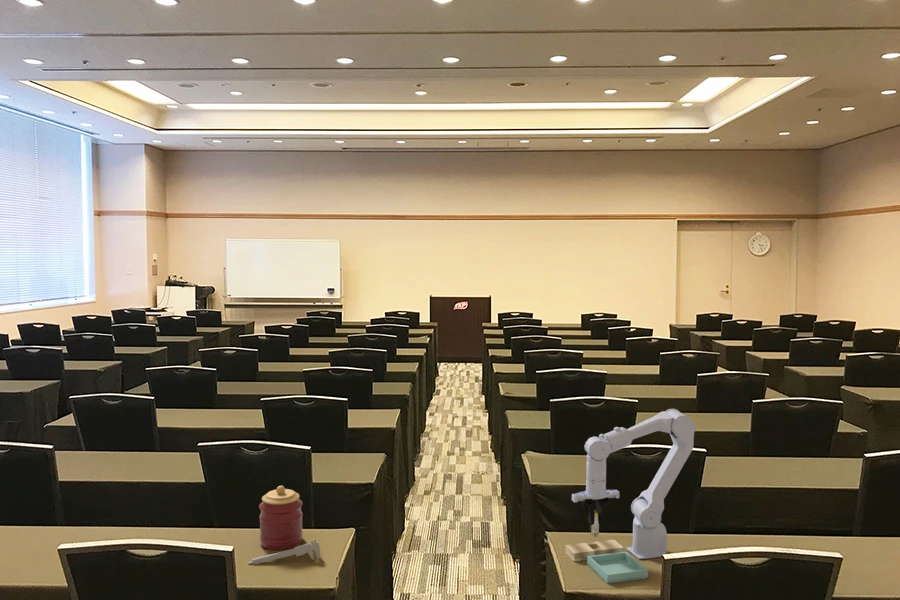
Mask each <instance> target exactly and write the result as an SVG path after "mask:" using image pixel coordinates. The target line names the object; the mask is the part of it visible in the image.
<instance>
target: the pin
mask: <svg viewBox="0 0 900 600" xmlns="http://www.w3.org/2000/svg"><path fill="white" fill-rule="evenodd" d="M590 526H591V527H590V536H592V537H599V533H600V530H599V529H600V524H599V512H598V511H597V509H595V510H594V524H593V525H591V524H590Z"/></svg>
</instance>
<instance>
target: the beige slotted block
mask: <svg viewBox="0 0 900 600" xmlns="http://www.w3.org/2000/svg"><path fill="white" fill-rule="evenodd" d="M564 548H565V553H564V554H565V555H567V556H568V558H569V559H571V560H572V561H573V562H574V561H575V562H581V560H583V561H587V556H593V555H602V554H610V553H619V552H625V550H624V549H625V548H624V546H623V545H621V544H620V543H619V542H617V540H615V539H606V540H600V541H599V540H597V541H591V542H590V541H589V542H581V543H573V544H565V547H564Z"/></svg>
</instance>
